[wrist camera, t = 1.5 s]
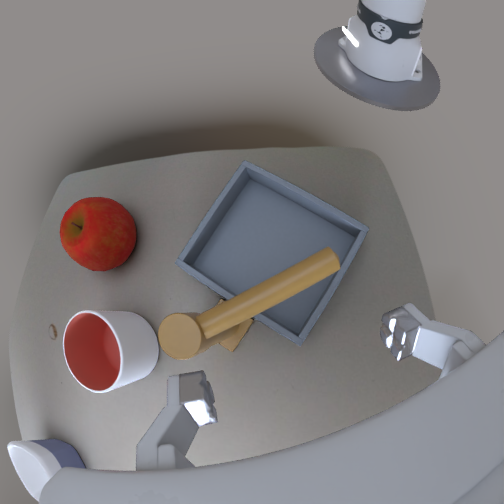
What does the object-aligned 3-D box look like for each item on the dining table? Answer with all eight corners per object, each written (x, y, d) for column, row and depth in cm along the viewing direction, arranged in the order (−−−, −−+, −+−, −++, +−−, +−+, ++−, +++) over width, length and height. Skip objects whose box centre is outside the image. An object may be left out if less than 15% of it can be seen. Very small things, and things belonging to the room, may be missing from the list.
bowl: (61, 483, 33) (30, 499, 22) (35, 425, 36) (0, 436, 26) (108, 498, 31) (77, 522, 21) (79, 434, 35) (39, 452, 24)
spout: (322, 244, 24) (329, 229, 20) (342, 280, 23) (353, 273, 19) (174, 322, 25) (150, 324, 20) (191, 357, 24) (170, 366, 19)
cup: (97, 348, 37) (54, 354, 28) (124, 297, 38) (80, 293, 29) (143, 391, 35) (103, 409, 25) (174, 339, 36) (136, 348, 26)
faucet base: (222, 298, 36) (188, 293, 25) (254, 319, 35) (234, 325, 23) (202, 329, 36) (161, 338, 24) (233, 351, 35) (204, 371, 23)
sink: (249, 175, 39) (244, 159, 35) (361, 237, 35) (369, 227, 31) (187, 268, 38) (174, 263, 33) (299, 341, 34) (300, 346, 29)
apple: (86, 272, 40) (40, 262, 30) (96, 209, 42) (55, 186, 32) (139, 276, 38) (93, 265, 28) (147, 205, 41) (109, 177, 30)
